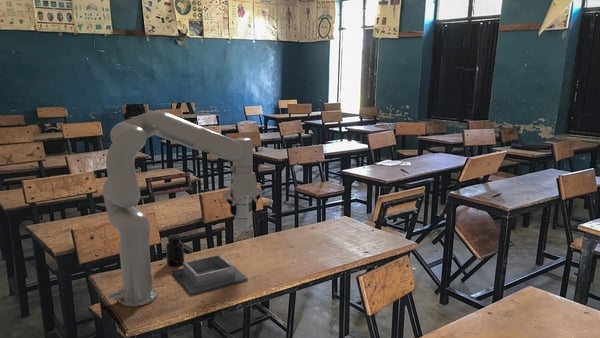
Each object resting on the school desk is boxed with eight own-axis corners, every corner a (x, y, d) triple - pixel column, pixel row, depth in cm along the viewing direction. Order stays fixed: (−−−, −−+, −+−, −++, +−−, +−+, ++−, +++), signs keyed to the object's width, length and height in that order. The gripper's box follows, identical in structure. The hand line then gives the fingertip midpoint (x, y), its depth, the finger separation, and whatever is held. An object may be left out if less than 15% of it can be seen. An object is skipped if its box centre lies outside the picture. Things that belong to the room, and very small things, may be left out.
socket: (191, 295, 158) (190, 282, 157) (172, 273, 176) (171, 261, 175) (247, 280, 169) (247, 268, 168) (224, 261, 187) (223, 249, 186)
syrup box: (248, 231, 176) (248, 195, 173) (234, 230, 177) (233, 194, 174) (253, 227, 182) (252, 192, 179) (239, 226, 183) (238, 191, 180)
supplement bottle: (166, 262, 186) (164, 234, 184) (182, 259, 189) (181, 232, 187) (168, 268, 180) (166, 240, 178) (185, 265, 183) (184, 237, 180)
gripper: (226, 173, 167) (227, 218, 170) (267, 169, 176) (267, 212, 180) (218, 170, 173) (219, 214, 177) (258, 166, 183) (258, 207, 186)
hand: (243, 212), depth 178 cm, fingers closed on syrup box, 8 cm apart
